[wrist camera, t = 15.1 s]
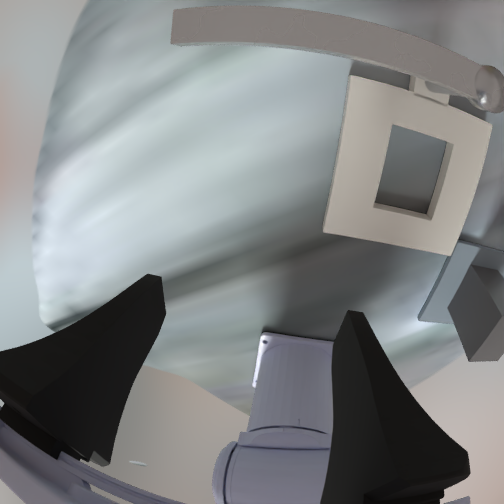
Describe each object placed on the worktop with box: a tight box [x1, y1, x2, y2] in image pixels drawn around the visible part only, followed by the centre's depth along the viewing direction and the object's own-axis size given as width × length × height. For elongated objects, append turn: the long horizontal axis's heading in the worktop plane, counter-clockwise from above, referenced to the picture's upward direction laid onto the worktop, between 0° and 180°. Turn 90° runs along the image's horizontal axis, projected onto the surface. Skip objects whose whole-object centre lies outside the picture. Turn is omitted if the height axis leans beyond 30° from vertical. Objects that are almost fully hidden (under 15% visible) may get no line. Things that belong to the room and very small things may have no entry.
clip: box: [171, 6, 504, 113], centre depth 8 cm, size 14×2×1 cm, turn 86°
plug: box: [447, 264, 504, 362], centre depth 17 cm, size 5×4×6 cm
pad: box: [418, 240, 504, 324], centre depth 19 cm, size 8×8×1 cm
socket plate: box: [322, 75, 493, 256], centre depth 13 cm, size 12×10×6 cm
